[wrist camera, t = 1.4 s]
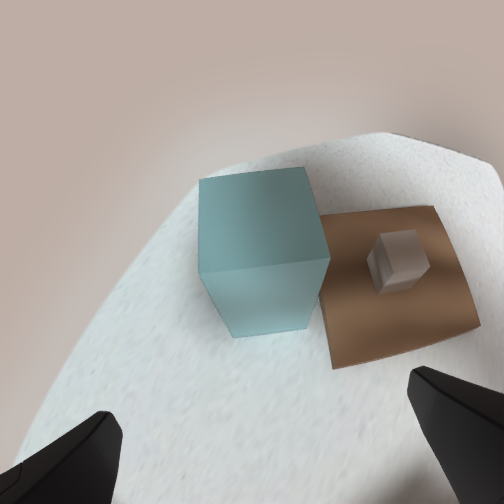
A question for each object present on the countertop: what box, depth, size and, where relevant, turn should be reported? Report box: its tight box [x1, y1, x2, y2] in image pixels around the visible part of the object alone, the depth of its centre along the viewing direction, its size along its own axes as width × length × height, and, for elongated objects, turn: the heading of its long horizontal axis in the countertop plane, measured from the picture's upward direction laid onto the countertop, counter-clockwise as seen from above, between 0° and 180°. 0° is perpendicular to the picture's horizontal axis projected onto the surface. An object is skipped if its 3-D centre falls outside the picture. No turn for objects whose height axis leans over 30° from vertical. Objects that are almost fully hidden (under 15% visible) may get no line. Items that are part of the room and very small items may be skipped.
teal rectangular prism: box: [198, 167, 331, 338], centre depth 18 cm, size 6×6×11 cm
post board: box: [319, 206, 481, 370], centre depth 21 cm, size 13×14×5 cm
